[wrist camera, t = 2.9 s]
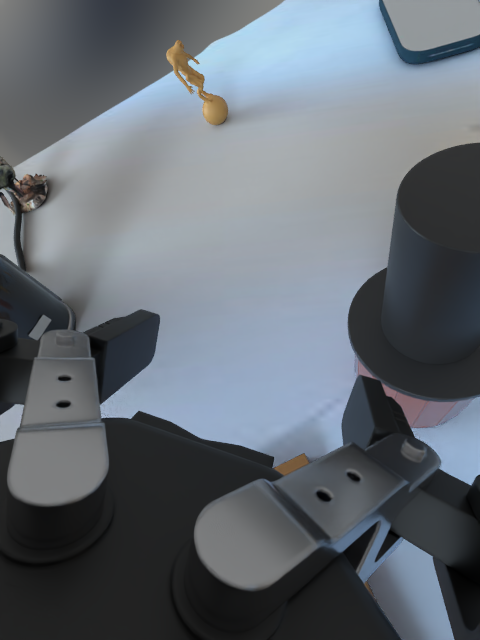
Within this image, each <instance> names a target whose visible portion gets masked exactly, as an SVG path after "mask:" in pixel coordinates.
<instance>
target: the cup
mask: <svg viewBox="0 0 480 640" xmlns="http://www.w3.org/2000/svg"><path fill="white" fill-rule="evenodd" d="M355 374H356V379H357V377H358V376H359V375H363V376H367V377H370V378H374V379H376V378H375V377H373V376H372V375H371V374H370V373H369V372H368V371H367V370H366V369H365V368H364V366H363V365H362V364H361V362H360V361H359V360H358V358H357V356H356V354H355ZM382 386H383V388H384V391H385V394H386V396H389V397H392V398H393V399H394V400H395V401H396V402H397V403H398V404H399V405H400V406H401V407H402V410H403V412H404V414H405V416H406V419H407V421H408V423H409V425H410V427H411V428H427V427H433V426H437V425H440V424H442V423H445V422H447V421H448V420H450V419H452V418H453V417H455V416H457V415H458V414H459V413H460V412H461V411H462V410H463V409H464V408H465V407H466V406H467V405H468V404H469V403H470V402H471V401H472V400H473V399H474V398H472V399H468V400H464V401H456V402H434V401H425V400H421V399H416V398H413V397H410V396H407V395H404V394H401V393H399V392H397V391H395V390H393V389H391V388H389V387H387V386H386V385H384V384H383V383H382Z"/></svg>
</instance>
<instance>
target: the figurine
mask: <svg viewBox="0 0 480 640" xmlns="http://www.w3.org/2000/svg"><path fill="white" fill-rule="evenodd" d="M183 49H184V45H182V42H181V41H180V40H177V41H176V43H175V45H174V46H173V47H172V48H170V49H169V50H168V51H167V59H168V61H169V62H170V64H172V65H173V68H174V73H175V75H176V76H177V77H178V78H179V80H180V81H181V82H182V83H183V84H184V85H185V86H186V88H187V90H188V91H189V92H190V93H191V92H192V91H194V90H193V89H191V87H192V86H188V84H187V83H186V81H185V80H184V79H183V78H182V77H181V75H180V74H179V72H178V70H179V71H180V72H181V73H182V74H183V75H185V76H186V80H187V81H188V82H190V83H191V84H193V85H195V86H197V87H198V88H199V89H198V90H197V94H198V96H199V97H200V98H201V99H202V100H204V101H205V102H204V104H203V115H204V118H205V119H206V121H207V122H209V123H210V124H212V125H219V124H221V123H223V122H224V121H225V119H226V118H227V115H228V107H227V104H226V102H225V100H224V99H223V98H222V97H220V96H217V95H213V94H208V93H206V92H205V91H203V83H204V76H203V75H202V74H200V73H198V72H197V71H195V70H194V69H193V68H191V67H190V66H189V65H188V60H187V58H189V59H192V60H193V61H194V62H195V63H196V64H197V63H198V64H199V62H198V61H197V60H196V59H195V58H193V57H192V56H191V55H189V54H187V53H185V52H184V51H183ZM192 88H193V87H192ZM191 90H192V91H191ZM194 92H195V91H194ZM192 93H193V92H192ZM201 93H202V94H203V95H204V96H206V97H204V96H203V95H201ZM193 94H194V93H193Z"/></svg>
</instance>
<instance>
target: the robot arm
mask: <svg viewBox="0 0 480 640" xmlns="http://www.w3.org/2000/svg"><path fill="white" fill-rule="evenodd" d="M5 190H6V189H5ZM6 191H7V192H8V194H9V195H10V197H11V199H12V201H13V204H14V207H15V213H16V216H15V226H14V246H15V252H16V257H17V262H18V266H17V265H16V264H14V263H13V262H12V261H10V260H9V259H8V258H6V257H5V256H3V255H1V254H0V415H1V414H3V413H4V412H6V411H7V410H9V409H10V408H12V407H13V406H14V405H15V404H22V405H24V409H23V414H22V419H21V424H20V428H18V429H17V431H16V435H15V439H11V440H7V441H3V442H0V640H402V639H401V638H400V636H399V635H398V633H397V632H396V630H395V629H394V627H393V626H392V624H391V623H390V622H389V620H388V619H387V617H386V616H385V614H384V613H383V611H382V610H381V608H380V607H379V605H378V604H377V602H376V601H375V599H374V598H373V596H372V595H371V593H370V592H369V590H368V589H367V587H366V586H365V584H364V583H365V582H366V581H367V579H368V578H369V577H370V576H371V574H372V573H373V572H374V571H375V570H376V569H377V568H378V567H379V566H380V565H381V564H382V563H383V562H384V561H385V559H386V558H387V557H388V556H389V555H390V554H391V553H392V552H393V551H394V550H395V549H396V548H397V547H398V546H399V545H400V543H401V542H402V541H403V539H405V540H407V541H409V542H410V543H412V544H413V545H415V546H417V547H418V548H420V549H422V550H423V551H425V552H426V553H428V554H430V555H431V556H433V562H434V566H435V570H436V574H437V577H438V581H439V585H440V588H441V592H442V595H443V599H444V603H445V606H446V610H447V614H448V617H449V621H450V625H451V628H452V632H453V636H454V639H455V640H480V475H478V476H477V477H476V478H475V480H474V482H473V484H472V485H469V484H467V483H465V482H463V481H461V480H459V479H457V478H455V477H453V476H451V475H449V474H447V473H445V472H444V471H442V470H440V469H439V467H440V465H441V460H440V458H439V456H438V455H437V453H436V452H435V451H434V450H433V449H432V448H431V447H429V446H428V445H427V444H425V443H424V442H422V441H420V440H418V439H416V438H415V436H414V434H413V432H412V430H411V428H410V425H409V423H408V421H407V419H406V416H405V414H404V412H403V410H402V407H401V406H400V405H399V404H398V403H397V402H396V401H395V400H394V399H393V398H392V397H389V396H386V394H385V391H384V388H383V386H382V383H381V381H380V380H377V379H374V378H370V377H367V376H363V375H359V376H358V377H357V379H356V381H355V384H354V387H353V389H352V392H351V395H350V398H349V400H348V403H347V406H346V408H345V411H344V414H343V419H342V436H343V445H344V446H342V447H340V448H338V449H336V450H334V451H332V452H330V453H328V454H326V455H325V456H323V457H321V458H319V459H317V460H315V461H313V462H311V463H309V464H307V465H305V466H303V467H301V468H299V469H297V470H295V471H294V472H292V473H290V474H288V475H286V476H284V475H283V474H281V473H280V472H278V471H277V470H275V469H273V468H272V467H273V462H274V457H272V456H269V455H266V454H263V453H260V452H257V451H254V450H252V449H249V448H246V447H243V446H240V445H234V444H228V443H222V442H216V441H209V440H204V439H201V438H198V437H197V436H195V435H193V434H191V433H190V432H188V431H186V430H184V429H182V428H181V427H179V426H177V425H175V424H174V423H172V422H170V421H167V420H164V419H161V418H158V417H155V416H152V415H149V414H146V413H144V412H141V411H138V412H137V413H136V414H135V415H134V416H133V417H132V418H131V419H128V418H101V412H100V405H101V404H102V403H103V402H104V401H105V400H107V399H108V398H109V397H110V396H111V395H113V394H114V393H115V392H116V391H118V390H119V389H120V388H121V387H122V386H124V385H125V384H126V383H127V382H128V381H130V380H131V379H132V378H133V377H135V376H136V375H137V374H138V373H139V372H141V371H142V370H143V369H144V368H145V367H147V366H148V365H149V364H150V362H151V361H152V359H153V356H154V353H155V349H156V342H157V336H158V330H159V324H160V316H159V315H158V314H155V313H152V312H148V311H145V310H142V309H141V310H138V311H136V312H134V313H132V314H130V315H128V316H126V317H120V318H113V319H111V320H109V321H107V322H105V323H103V324H100V325H98V326H96V327H94V328H92V329H90V330H87V331H85V332H83V333H82V332H79V331H74V328H75V315H74V313H73V311H72V309H71V308H70V307H69V306H68V305H66V304H65V303H64V302H62V299H61V298H60V297H58V296H57V295H56V294H54V293H53V292H52V291H50V290H49V289H48V288H46V287H45V286H44V285H42V284H41V283H40V282H38V281H37V280H36V279H34V278H33V277H32V276H30V275H29V274H28V273H26V272H25V262H24V257H23V253H22V248H21V242H20V231H21V220H22V214H21V207H20V203H19V201H18V199H17V198H16V197H15V194H14V193H13V192H11V191H8V190H6Z"/></svg>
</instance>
